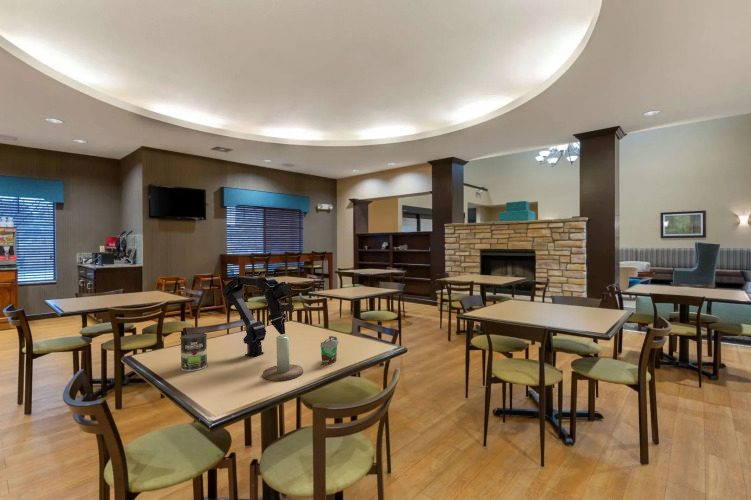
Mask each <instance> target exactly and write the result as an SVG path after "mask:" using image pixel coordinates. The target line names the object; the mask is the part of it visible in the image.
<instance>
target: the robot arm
mask: <svg viewBox="0 0 751 500" xmlns="http://www.w3.org/2000/svg"><path fill="white" fill-rule="evenodd" d="M245 285H246V286H254V287H256V288H258V289H261V290H262V292H261V294H260V297H264V298H265V301H266V307H267V309H268V312H269V314H268V316H267V318H268V322H269V323H270V324H271V325H272V326H273V327H274V329H276V332H278V333H279V336H283V335H286V326H285V323H286V320H287V319H288V316H287V313H285V312H291V313H293V312H295V305H294V304H292V303H287V304H283V303H282V302H281V301H280V300H281V299H283V298H286V297H288V296H290V295H291V293H292V288H291V286H290V285H289V284H288V283H287V282H286V281H281V282H279V281H278V280H277V279H275V276H271V275H270V276H262V277H257V276H255V277H254V276H247V275H246V276H245V275H236V276H234V277H233V278H232V280H231V281H229V282H228V283H226V284H225V285H224V287H223V289H222V291H221V292H222V295H223V297H224V298H225V299H226V300H227V301H228V302H230V303H232V305H233V306H234V308H235V310H236V311H237V313H238V315H239V316H240V318H241V320H242V321H243V323H244V325H245V336H244V338H243V339H242V341H243V343H244V344H246V345H247V346H246V348H247V349H246V351H247V353H245V354H244V356H247V357H253V358H255V357H257V356H261V355H263V354H265V352H264V351H263V347H262V346H263V345H262V342H263V341H265V337H266V334H267V330H266V326H265V325H264V323H263V321H261V320H260V321H257V320H256V318H255V317H254V315H253V313H251V311H250V309H249V307H248V305H247V303H246V302H245V300H244V298H243V291H242V290H243V289H244V288H245V287H244V286H245Z"/></svg>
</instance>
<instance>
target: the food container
mask: <svg viewBox="0 0 751 500" xmlns="http://www.w3.org/2000/svg"><path fill="white" fill-rule="evenodd" d="M339 343H340V342H339V339H338V337H337V336H335V335H333V336H332V335H329V336H328V338H326V339H325V340H324V341H322V342H320V350H321V365H329V364H333V363H336V362H337V355H338V345H339Z"/></svg>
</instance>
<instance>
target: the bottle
mask: <svg viewBox="0 0 751 500" xmlns="http://www.w3.org/2000/svg"><path fill="white" fill-rule="evenodd" d="M275 344H276V366H277V372H278V373H285V372H288V371H289V370H290V369H289V364H290V336H289V335H286V334H282V335H279V336H278V335H277V336H276V343H275Z"/></svg>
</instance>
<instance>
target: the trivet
mask: <svg viewBox="0 0 751 500" xmlns="http://www.w3.org/2000/svg"><path fill="white" fill-rule="evenodd" d="M289 369H290V370H289V371H288V372H285V373H278V372H277V365H273V366H271V367H268V368H266V369H264V370H263V373H262V378H264V379H265V380H267V381H272V382H284V381H290V380H294V379H297V378H299V377H301V376H302V375H303V373H304V368H303V366H301V365H298V364H290V363H289Z"/></svg>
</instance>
